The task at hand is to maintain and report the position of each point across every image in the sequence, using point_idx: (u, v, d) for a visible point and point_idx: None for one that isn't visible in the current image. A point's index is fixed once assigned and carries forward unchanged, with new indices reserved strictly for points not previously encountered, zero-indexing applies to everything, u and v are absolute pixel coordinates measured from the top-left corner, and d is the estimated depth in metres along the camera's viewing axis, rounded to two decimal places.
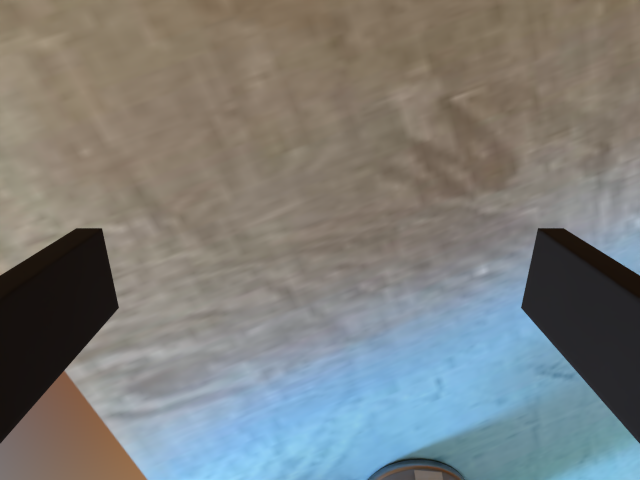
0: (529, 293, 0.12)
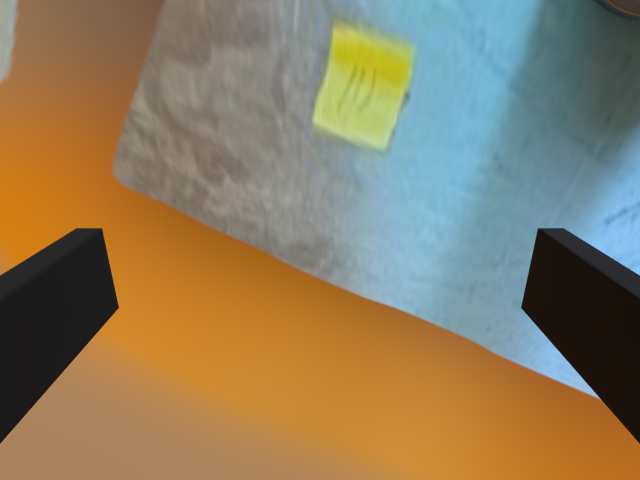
0: (529, 293, 0.12)
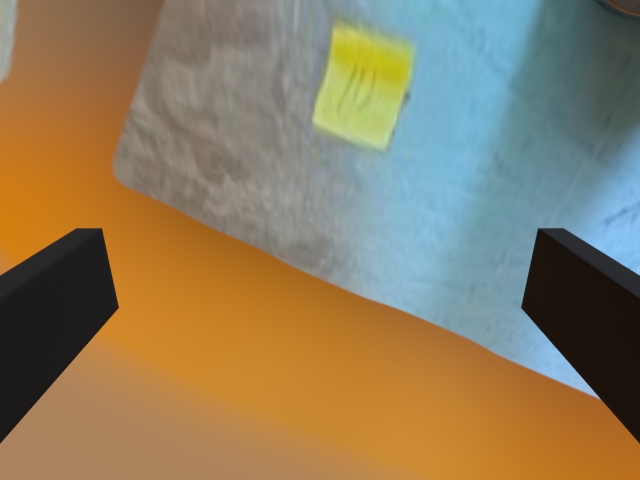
0: (529, 293, 0.12)
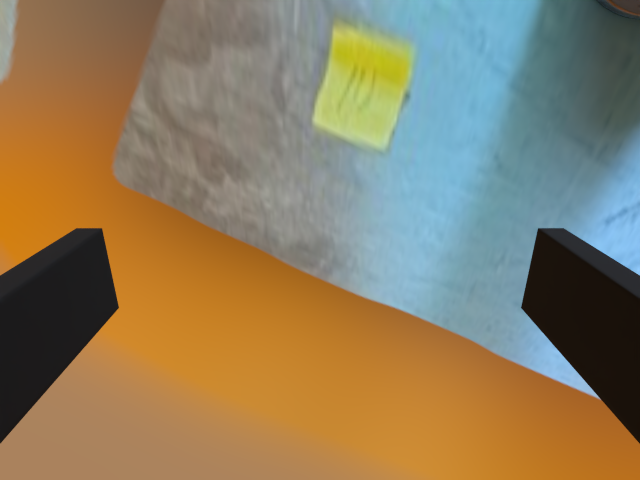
0: (529, 293, 0.12)
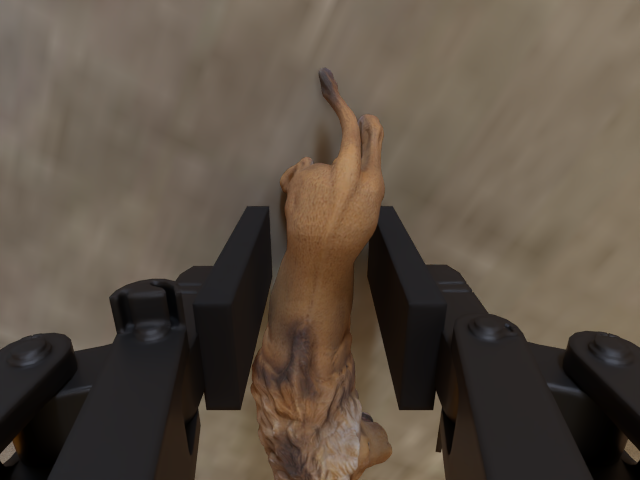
0: (368, 262, 0.14)
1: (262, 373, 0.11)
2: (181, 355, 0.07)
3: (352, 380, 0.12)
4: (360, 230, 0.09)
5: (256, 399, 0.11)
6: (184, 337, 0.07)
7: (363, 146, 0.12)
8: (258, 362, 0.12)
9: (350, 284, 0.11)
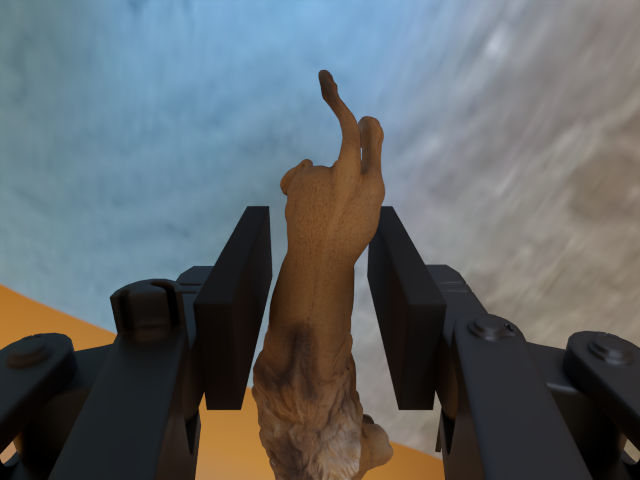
0: (368, 262, 0.14)
1: (263, 376, 0.11)
2: (181, 355, 0.07)
3: (353, 382, 0.12)
4: (361, 232, 0.09)
5: (257, 402, 0.11)
6: (184, 337, 0.07)
7: (363, 148, 0.12)
8: (259, 364, 0.12)
9: (351, 286, 0.11)
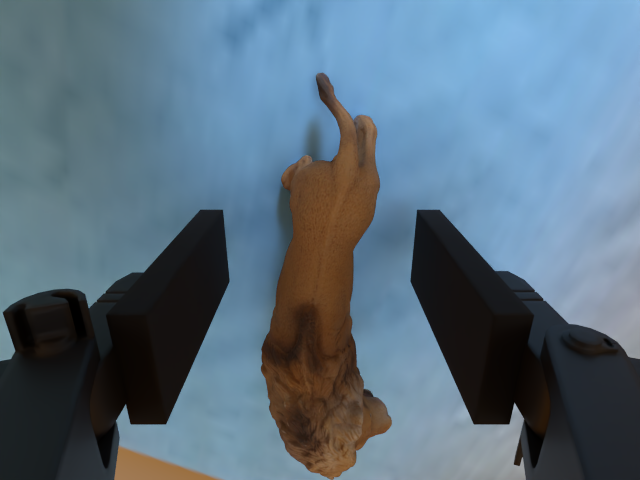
0: (413, 267, 0.14)
1: (272, 353, 0.12)
2: (88, 366, 0.07)
3: (354, 358, 0.13)
4: (359, 219, 0.11)
5: (267, 378, 0.12)
6: (92, 347, 0.07)
7: (359, 144, 0.13)
8: (267, 344, 0.13)
9: (350, 270, 0.12)
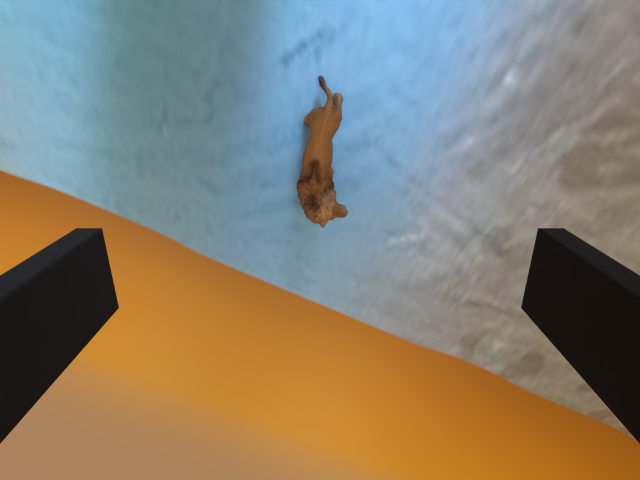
0: (529, 293, 0.12)
1: (301, 181, 0.33)
2: None
3: (332, 184, 0.33)
4: (333, 125, 0.31)
5: (299, 191, 0.33)
6: None
7: (335, 103, 0.33)
8: (299, 180, 0.33)
9: (331, 148, 0.32)
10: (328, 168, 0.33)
